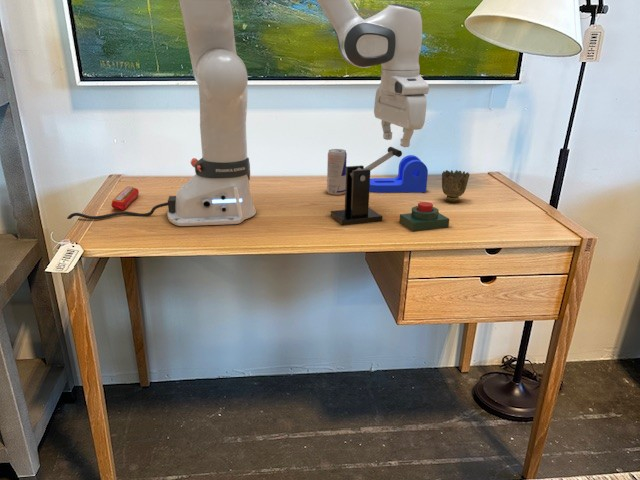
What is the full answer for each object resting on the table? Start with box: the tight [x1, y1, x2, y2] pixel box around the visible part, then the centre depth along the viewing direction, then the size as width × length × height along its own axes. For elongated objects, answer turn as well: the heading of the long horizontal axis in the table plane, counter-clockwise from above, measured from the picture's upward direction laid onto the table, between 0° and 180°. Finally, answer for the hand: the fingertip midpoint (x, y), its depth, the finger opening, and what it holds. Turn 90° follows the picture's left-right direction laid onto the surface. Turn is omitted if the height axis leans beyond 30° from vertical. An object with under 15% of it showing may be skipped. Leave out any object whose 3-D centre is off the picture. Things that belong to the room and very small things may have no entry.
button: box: [417, 201, 434, 212], centre depth 143 cm, size 4×4×2 cm
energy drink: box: [326, 148, 348, 196], centre depth 168 cm, size 5×5×12 cm
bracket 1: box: [330, 164, 383, 226], centre depth 146 cm, size 11×8×13 cm
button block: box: [398, 205, 450, 232], centre depth 144 cm, size 10×7×4 cm
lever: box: [350, 146, 403, 178], centre depth 144 cm, size 13×5×2 cm, turn 112°
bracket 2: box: [369, 154, 429, 194], centre depth 173 cm, size 18×8×9 cm, turn 94°
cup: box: [441, 169, 470, 203], centre depth 162 cm, size 8×7×8 cm
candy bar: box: [111, 186, 140, 211], centre depth 158 cm, size 16×4×3 cm, turn 0°
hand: (395, 142), depth 144 cm, fingers open, 8 cm apart
